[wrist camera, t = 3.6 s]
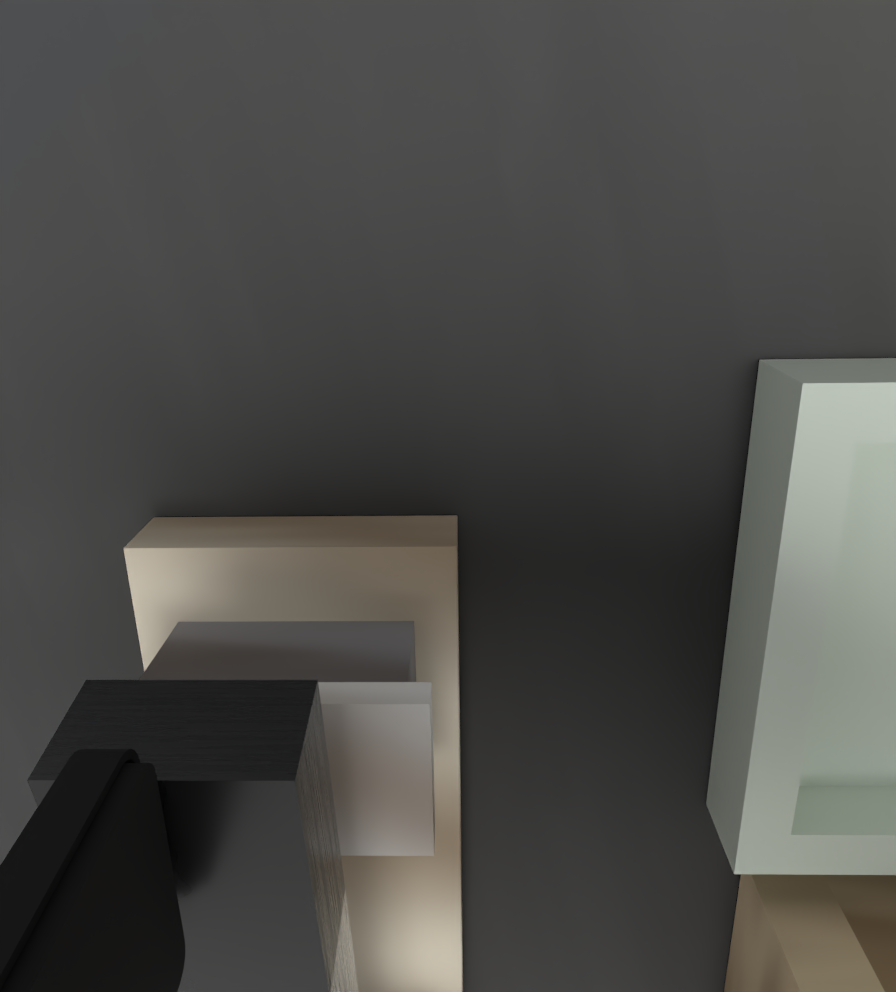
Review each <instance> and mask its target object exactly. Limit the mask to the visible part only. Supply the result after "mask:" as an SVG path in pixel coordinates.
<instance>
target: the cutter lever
mask: <svg viewBox="0 0 896 992" xmlns="http://www.w3.org/2000/svg"><path fill="white" fill-rule="evenodd" d="M80 749H133V750H135V751H136V753H137V754H138V756H139V759H140V763H151V764H153V766H154V767H155V771H156V775H157V781H158V786H159V792H160V798H161V804H162V810H163V816H164V821H165V827H166V833H167V839H168V845H169V851H170V856H171V862H172V868H173V874H174V880H175V886H176V891H177V897H178V903H179V909H180V915H181V921H182V926H183V932H184V938H185V962H184V969H183V974H182V978H181V982H180V985H179V988H178V991H177V992H359V990H358V982H357V975H356V967H355V959H354V952H353V944H352V936H351V929H350V921H349V914H348V906H347V898H346V891H345V883H344V875H343V868H342V860H341V853H340V845H339V837H338V830H337V822H336V814H335V807H334V799H333V792H332V784H331V776H330V769H329V761H328V754H327V746H326V738H325V731H324V723H323V715H322V708H321V700H320V693H319V685H318V680H86V681H85V683H84V685H83V686H82V688H81V690H80V691H79V693H78V695H77V697H76V698H75V700H74V702H73V703H72V705H71V707H70V708H69V710H68V712H67V714H66V715H65V717H64V719H63V720H62V722H61V724H60V725H59V727H58V729H57V731H56V732H55V734H54V736H53V737H52V739H51V741H50V742H49V744H48V746H47V748H46V749H45V751H44V753H43V754H42V756H41V758H40V759H39V761H38V763H37V765H36V766H35V768H34V770H33V771H32V773H31V775H30V776H29V778H28V780H27V781H28V783H29V786H30V788H31V791H32V793H33V796H34V798H35V801H36V803H37V806H39V805H40V803H41V802H42V800H43V798H44V797H45V795H46V794H47V792H48V791H49V789H50V788H51V786H52V784H53V783H54V781H55V780H56V778H57V777H58V775H59V774H60V772H61V770H62V769H63V767H64V766H65V764H66V763H67V761H68V760H69V758H70V757H71V756H72V755H73V753H74V752H76V751H78V750H80Z"/></svg>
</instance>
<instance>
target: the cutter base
mask: <svg viewBox="0 0 896 992" xmlns="http://www.w3.org/2000/svg"><path fill="white" fill-rule="evenodd" d="M123 549H124V554H125V560H126V566H127V572H128V578H129V584H130V590H131V596H132V601H133V607H134V613H135V619H136V625H137V631H138V637H139V643H140V649H141V654H142V660H143V666H144V673H143V675H142V676H141V678H140V679H139V680H318V685H319V693H320V700H321V708H322V715H323V723H324V731H325V738H326V746H327V754H328V761H329V769H330V776H331V784H332V792H333V799H334V807H335V814H336V822H337V830H338V837H339V845H340V853H341V860H342V868H343V875H344V883H345V891H346V898H347V906H348V914H349V921H350V929H351V936H352V944H353V952H354V959H355V967H356V975H357V982H358V990H359V992H463V944H462V859H461V774H460V689H459V604H458V519H457V515H441V516H280V517H154V518H153V519H152V520H151V521H150V522H149V523H148V524H147V525H146V526H145V527H144V528H143V529H142V530H141V531H140V532H139V533H138V534H137V535H136V536H135V537H134V538H133V539H132V540H131V541H130V542H129V543H128V544H127V545H126V546H125V547H124V548H123Z"/></svg>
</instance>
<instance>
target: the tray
mask: <svg viewBox="0 0 896 992" xmlns="http://www.w3.org/2000/svg"><path fill="white" fill-rule="evenodd" d="M706 805H707V808H708V810H709V813H710V815H711V818H712V820H713V823H714V825H715V828H716V830H717V833H718V835H719V838H720V840H721V843H722V845H723V848H724V850H725V853H726V855H727V858H728V860H729V863H730V866H731V868H732V871H733V873H734V874H784V875H896V358H855V359H763V360H759V367H758V375H757V384H756V392H755V400H754V409H753V417H752V425H751V434H750V442H749V450H748V459H747V467H746V475H745V484H744V492H743V500H742V509H741V517H740V525H739V534H738V542H737V550H736V559H735V567H734V575H733V584H732V592H731V600H730V609H729V617H728V625H727V633H726V642H725V650H724V658H723V667H722V675H721V683H720V692H719V700H718V708H717V717H716V725H715V733H714V742H713V750H712V758H711V767H710V775H709V783H708V792H707V800H706Z"/></svg>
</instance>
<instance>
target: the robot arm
mask: <svg viewBox="0 0 896 992" xmlns="http://www.w3.org/2000/svg"><path fill="white" fill-rule="evenodd" d="M184 962H185V938H184V932H183V926H182V921H181V915H180V909H179V903H178V897H177V891H176V886H175V880H174V874H173V868H172V862H171V856H170V851H169V845H168V839H167V833H166V827H165V821H164V816H163V810H162V804H161V798H160V792H159V786H158V781H157V775H156V771H155V767H154V766H153V764H151V763H140V759H139V756H138V754H137V753H136V751H135V750H133V749H80V750H78V751H76V752H74V753H73V755H72V756H71V757H70V758H69V760H68V761H67V763H66V764H65V766H64V767H63V769H62V770H61V772H60V774H59V775H58V777H57V778H56V780H55V781H54V783H53V784H52V786H51V788H50V789H49V791H48V792H47V794H46V795H45V797H44V798H43V800H42V802H41V803H40V805H39V806H38V808H37V809H36V811H35V812H34V814H33V816H32V817H31V819H30V820H29V822H28V823H27V825H26V826H25V828H24V830H23V831H22V833H21V834H20V836H19V837H18V839H17V840H16V842H15V844H14V845H13V847H12V848H11V850H10V851H9V853H8V854H7V856H6V858H5V859H4V861H3V862H2V864H1V865H0V992H177V991H178V988H179V985H180V982H181V978H182V974H183V969H184Z"/></svg>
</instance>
